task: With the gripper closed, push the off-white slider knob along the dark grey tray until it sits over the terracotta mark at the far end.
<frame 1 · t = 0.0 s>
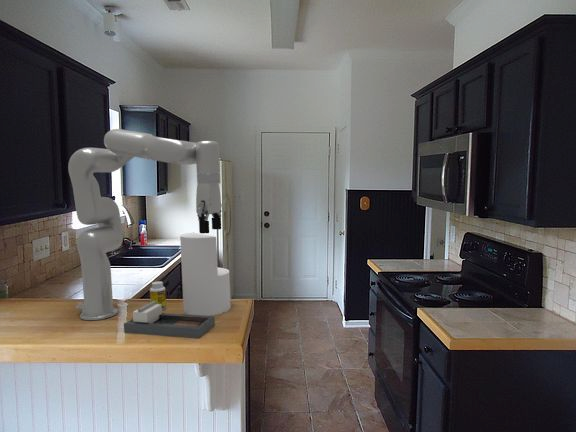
hand: (210, 231, 142), 31 cm above the table, tool pointing down, fingers open, 9 cm apart
slider knob: (147, 313, 142), point 5 cm above the table, slide at 0.0 cm
dark grey tray: (170, 328, 140), on the table
supplement bottle: (158, 309, 161), on the table
cylinder: (207, 309, 161), on the table
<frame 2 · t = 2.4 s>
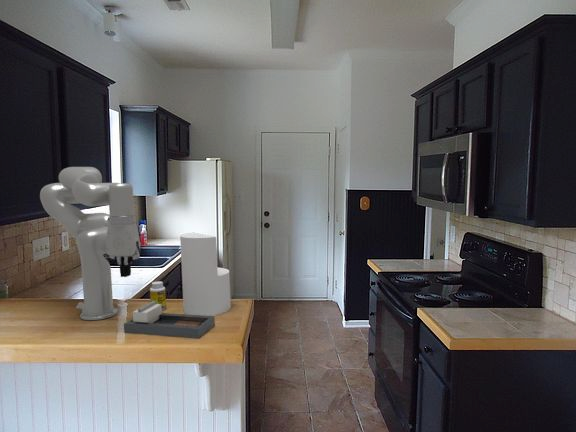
hand: (125, 276, 142), 17 cm above the table, tool pointing down, fingers closed
nothing on the table moved.
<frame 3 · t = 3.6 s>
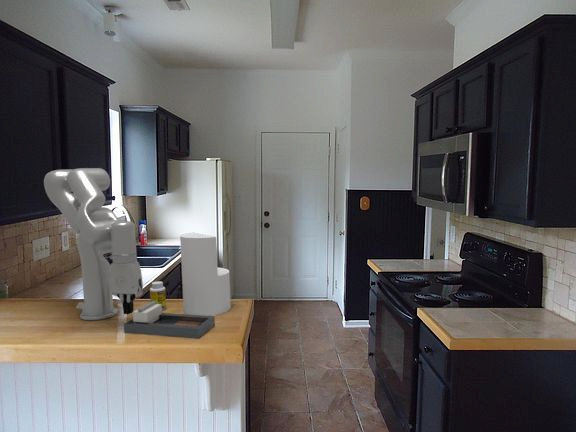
hand: (128, 312, 143), 4 cm above the table, tool pointing down, fingers closed
nothing on the table moved.
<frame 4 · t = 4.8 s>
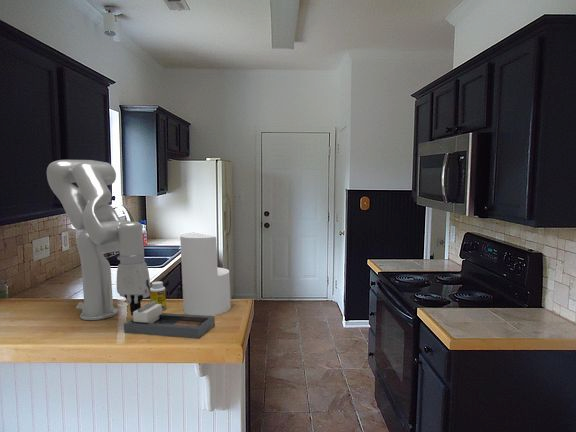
hand: (135, 313, 143), 4 cm above the table, tool pointing down, fingers closed
slider knob: (147, 313, 142), point 5 cm above the table, slide at 0.1 cm, touching gripper
everything else where it was.
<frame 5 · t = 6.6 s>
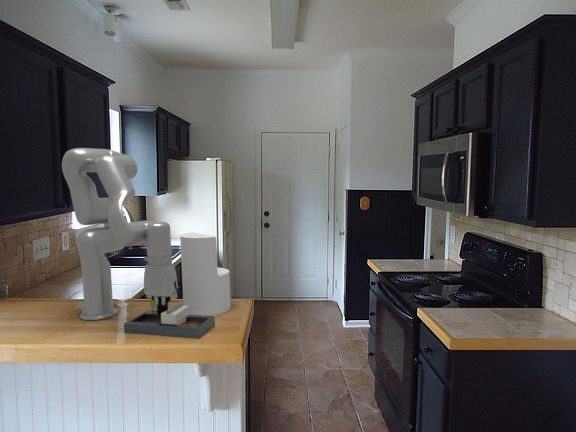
hand: (162, 315, 140), 4 cm above the table, tool pointing down, fingers closed
slider knob: (175, 315, 139), point 5 cm above the table, slide at 10.0 cm, touching gripper
everything else where it was.
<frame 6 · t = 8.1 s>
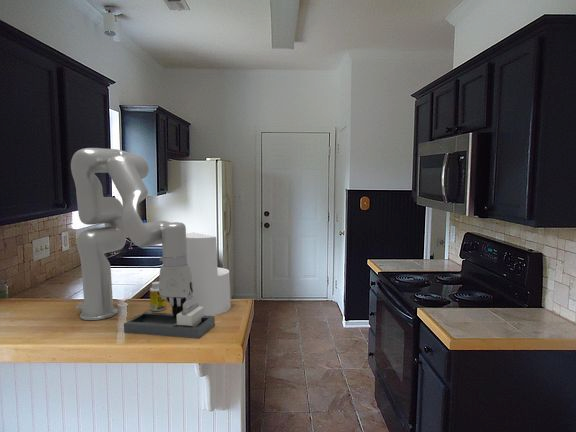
hand: (178, 316, 139), 4 cm above the table, tool pointing down, fingers closed
slider knob: (190, 316, 138), point 5 cm above the table, slide at 15.5 cm, touching gripper
everything else where it was.
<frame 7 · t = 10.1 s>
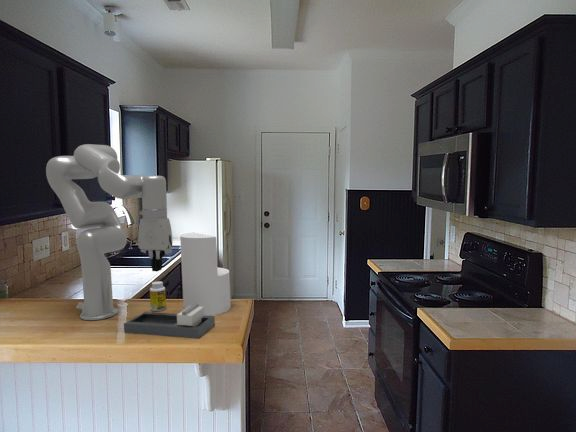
hand: (157, 270, 140), 19 cm above the table, tool pointing down, fingers closed
slider knob: (190, 316, 138), point 5 cm above the table, slide at 15.6 cm
everything else where it was.
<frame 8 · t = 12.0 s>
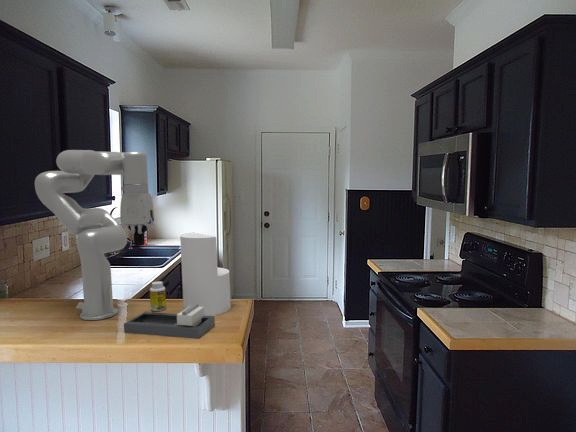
hand: (139, 245, 142), 27 cm above the table, tool pointing down, fingers closed
nothing on the table moved.
at the end: slider knob slide at 15.6 cm; supplement bottle moved 0.2 cm from its start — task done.
